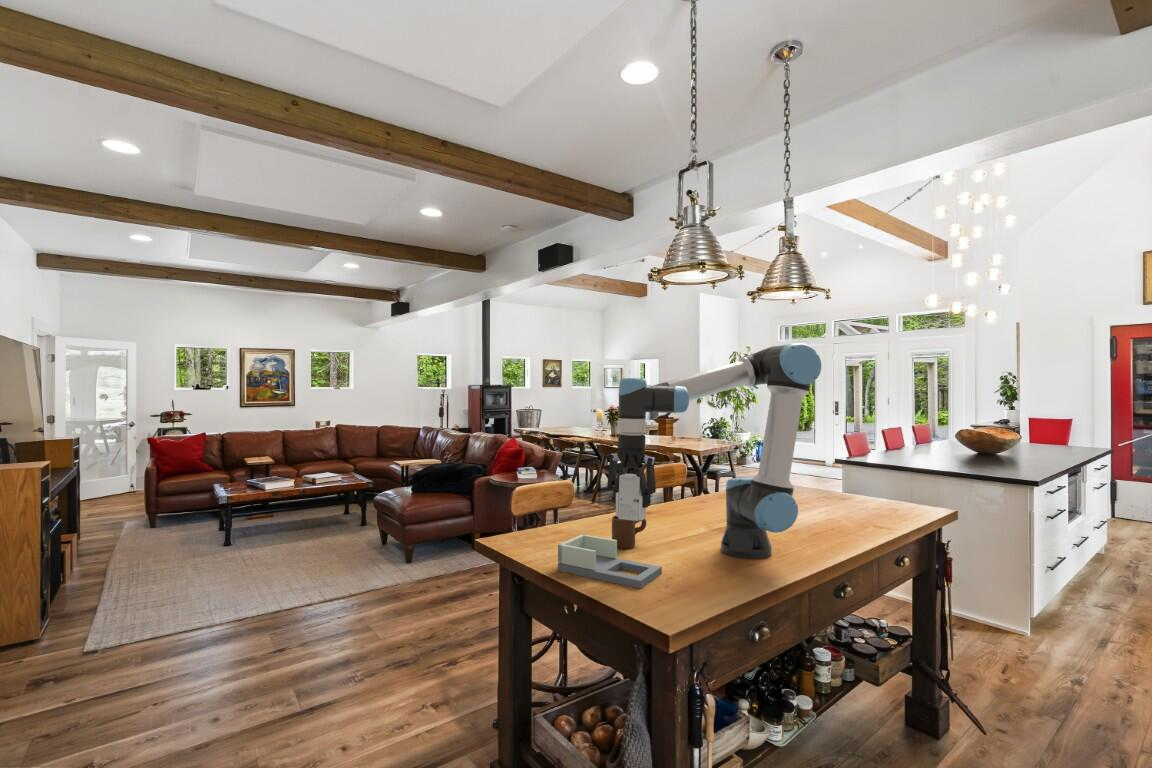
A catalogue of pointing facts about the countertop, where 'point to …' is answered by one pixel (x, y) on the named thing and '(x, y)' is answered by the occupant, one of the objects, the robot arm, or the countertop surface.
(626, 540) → the mug
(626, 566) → the board
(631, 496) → the skincare box
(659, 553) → the countertop surface
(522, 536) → the countertop surface
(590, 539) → the housing
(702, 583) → the countertop surface
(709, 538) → the countertop surface
